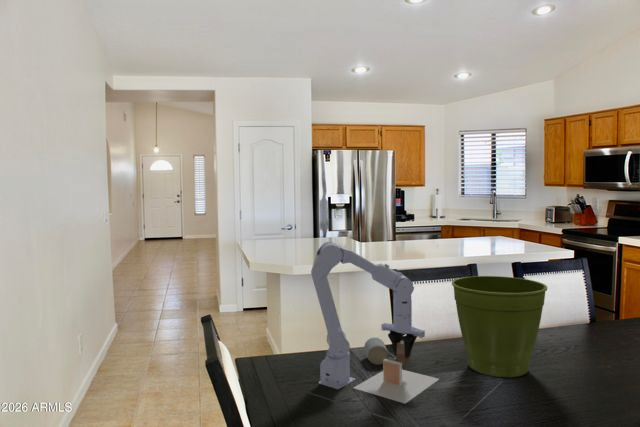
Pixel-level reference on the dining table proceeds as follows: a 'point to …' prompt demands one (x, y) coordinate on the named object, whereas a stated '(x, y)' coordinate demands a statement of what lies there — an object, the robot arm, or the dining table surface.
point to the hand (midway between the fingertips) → (402, 355)
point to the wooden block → (401, 353)
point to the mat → (404, 393)
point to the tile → (392, 372)
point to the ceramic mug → (377, 351)
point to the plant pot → (499, 322)
